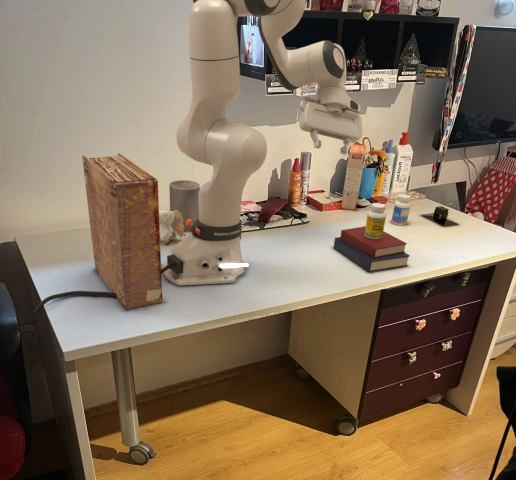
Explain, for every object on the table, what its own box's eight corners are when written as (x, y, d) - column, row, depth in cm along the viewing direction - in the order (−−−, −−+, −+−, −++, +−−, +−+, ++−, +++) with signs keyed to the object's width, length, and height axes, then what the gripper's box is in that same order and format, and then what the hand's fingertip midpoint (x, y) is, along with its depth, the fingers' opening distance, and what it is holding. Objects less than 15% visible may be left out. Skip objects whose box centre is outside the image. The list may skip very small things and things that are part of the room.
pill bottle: (388, 220, 192) (393, 193, 187) (401, 219, 194) (407, 193, 189) (396, 225, 188) (401, 198, 183) (409, 225, 190) (415, 197, 184)
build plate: (458, 225, 193) (461, 212, 190) (443, 227, 190) (446, 214, 187) (435, 213, 202) (438, 201, 200) (420, 215, 199) (422, 203, 197)
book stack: (368, 272, 153) (372, 251, 149) (333, 248, 167) (336, 228, 164) (407, 266, 158) (412, 245, 155) (370, 243, 172) (373, 223, 169)
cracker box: (356, 210, 200) (365, 153, 189) (340, 208, 201) (348, 151, 189) (358, 200, 211) (366, 145, 200) (342, 198, 212) (350, 143, 201)
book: (95, 269, 144) (81, 154, 128) (128, 263, 149) (119, 152, 132) (126, 310, 126) (115, 183, 110) (163, 302, 131) (157, 179, 114)
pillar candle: (173, 220, 180) (171, 175, 172) (201, 222, 180) (201, 177, 172) (167, 230, 172) (166, 183, 164) (198, 232, 172) (197, 185, 164)
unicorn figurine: (118, 241, 162) (114, 198, 154) (179, 234, 169) (178, 192, 162) (124, 250, 156) (120, 205, 149) (187, 242, 164) (186, 199, 157)
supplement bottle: (377, 233, 162) (383, 201, 157) (385, 239, 158) (391, 207, 153) (360, 233, 161) (366, 202, 155) (368, 240, 156) (374, 208, 151)
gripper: (307, 90, 149) (306, 139, 148) (365, 107, 158) (365, 153, 158) (295, 100, 154) (294, 147, 154) (352, 115, 164) (351, 160, 163)
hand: (330, 150), depth 156 cm, fingers open, 8 cm apart
